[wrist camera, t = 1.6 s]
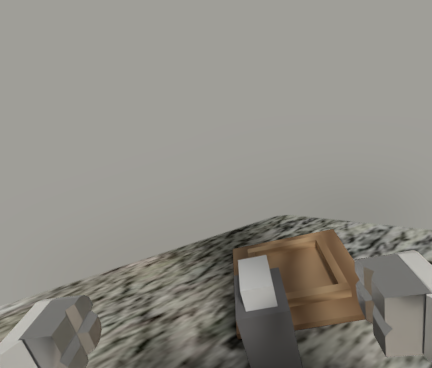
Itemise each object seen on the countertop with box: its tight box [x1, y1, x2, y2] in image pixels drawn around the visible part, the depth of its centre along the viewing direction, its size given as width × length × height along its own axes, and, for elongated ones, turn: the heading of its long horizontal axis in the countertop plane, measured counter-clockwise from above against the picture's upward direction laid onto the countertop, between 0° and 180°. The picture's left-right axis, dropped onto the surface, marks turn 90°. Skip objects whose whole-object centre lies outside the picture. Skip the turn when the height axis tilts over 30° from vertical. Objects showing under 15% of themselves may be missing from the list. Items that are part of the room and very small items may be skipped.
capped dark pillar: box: [234, 255, 302, 368], centre depth 25 cm, size 4×5×13 cm
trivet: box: [233, 229, 365, 339], centre depth 38 cm, size 16×16×2 cm
